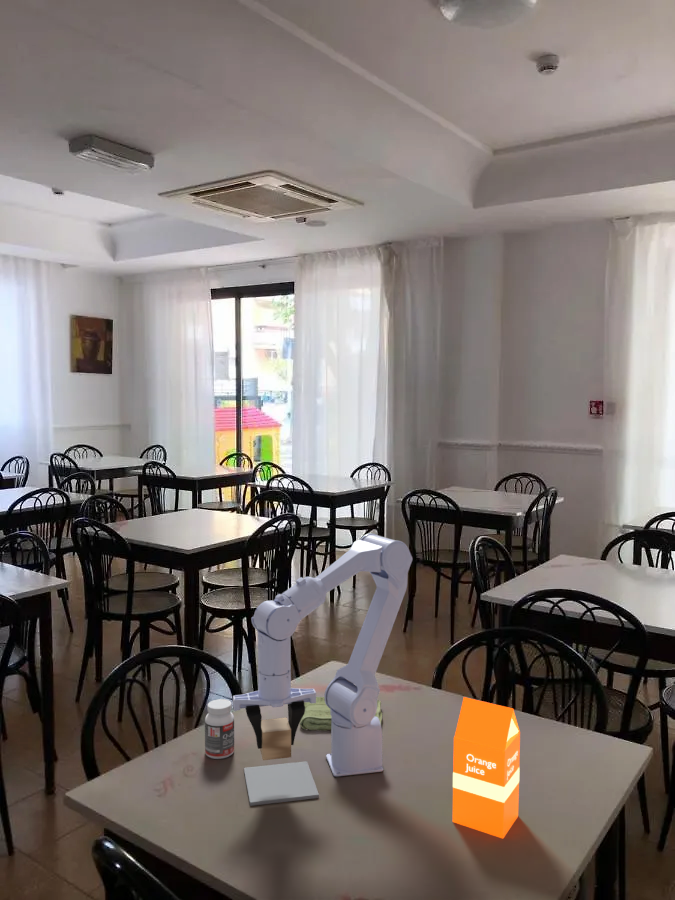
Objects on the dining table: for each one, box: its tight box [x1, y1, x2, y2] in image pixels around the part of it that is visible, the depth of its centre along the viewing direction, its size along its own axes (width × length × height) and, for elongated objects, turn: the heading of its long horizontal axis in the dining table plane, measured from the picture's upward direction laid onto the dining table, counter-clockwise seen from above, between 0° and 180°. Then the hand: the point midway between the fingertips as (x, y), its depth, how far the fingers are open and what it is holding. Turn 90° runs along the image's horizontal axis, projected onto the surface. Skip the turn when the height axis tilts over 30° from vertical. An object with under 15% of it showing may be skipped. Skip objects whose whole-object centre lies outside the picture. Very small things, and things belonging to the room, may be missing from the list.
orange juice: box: [451, 696, 521, 839], centre depth 123 cm, size 8×9×20 cm
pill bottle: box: [204, 698, 235, 760], centre depth 145 cm, size 6×6×10 cm
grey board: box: [243, 761, 320, 807], centre depth 134 cm, size 12×12×1 cm
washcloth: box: [299, 696, 383, 731], centre depth 161 cm, size 13×18×3 cm
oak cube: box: [259, 717, 292, 761], centre depth 132 cm, size 5×5×5 cm
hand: (275, 744), depth 132 cm, fingers closed on oak cube, 5 cm apart
